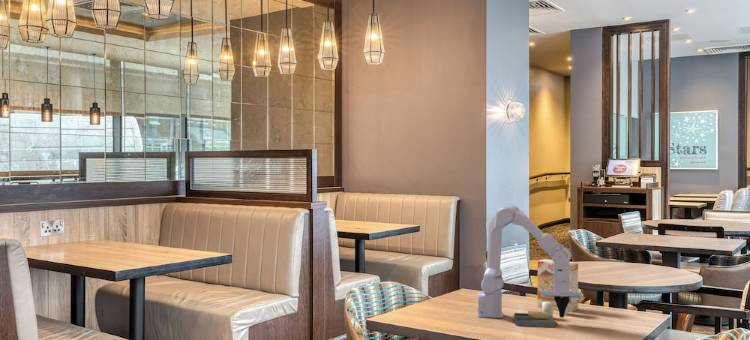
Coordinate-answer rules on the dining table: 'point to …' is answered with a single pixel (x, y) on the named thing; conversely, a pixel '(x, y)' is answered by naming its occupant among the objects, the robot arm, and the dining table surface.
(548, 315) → the shunt bar
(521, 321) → the jig
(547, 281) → the coffeecake box
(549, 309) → the white capsule cylinder
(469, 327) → the dining table surface
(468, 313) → the dining table surface
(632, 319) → the dining table surface
